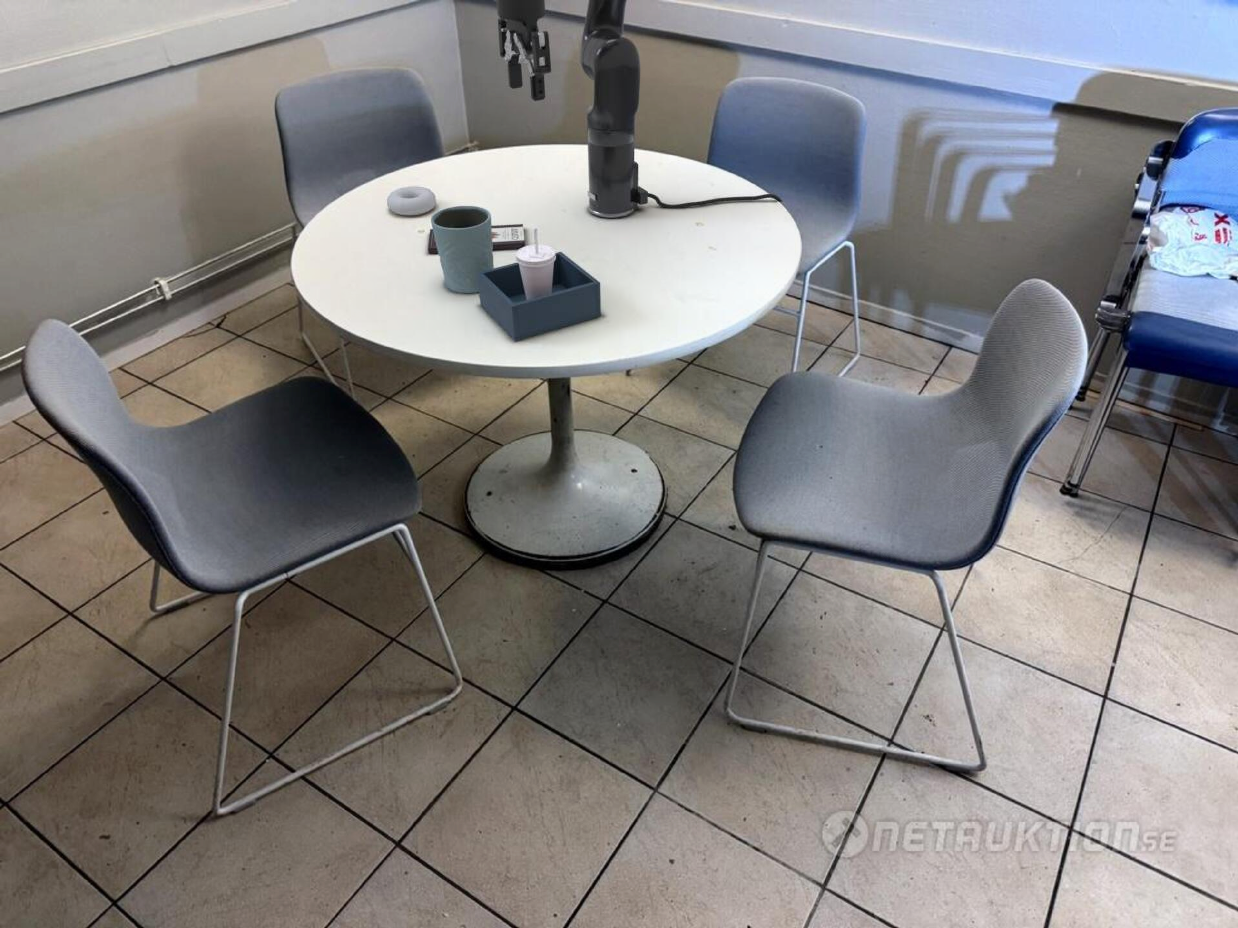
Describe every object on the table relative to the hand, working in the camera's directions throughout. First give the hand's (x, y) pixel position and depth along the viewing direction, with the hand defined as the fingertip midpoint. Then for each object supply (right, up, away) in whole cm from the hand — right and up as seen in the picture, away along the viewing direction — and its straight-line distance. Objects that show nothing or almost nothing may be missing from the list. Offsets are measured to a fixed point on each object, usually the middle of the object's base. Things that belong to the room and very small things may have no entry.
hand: (526, 93), depth 139 cm
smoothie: (+2, -36, 0) cm, 36 cm away
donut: (-28, -9, +34) cm, 45 cm away
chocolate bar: (-12, -19, +21) cm, 31 cm away
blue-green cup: (-11, -30, +8) cm, 33 cm away
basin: (+2, -36, 0) cm, 36 cm away
